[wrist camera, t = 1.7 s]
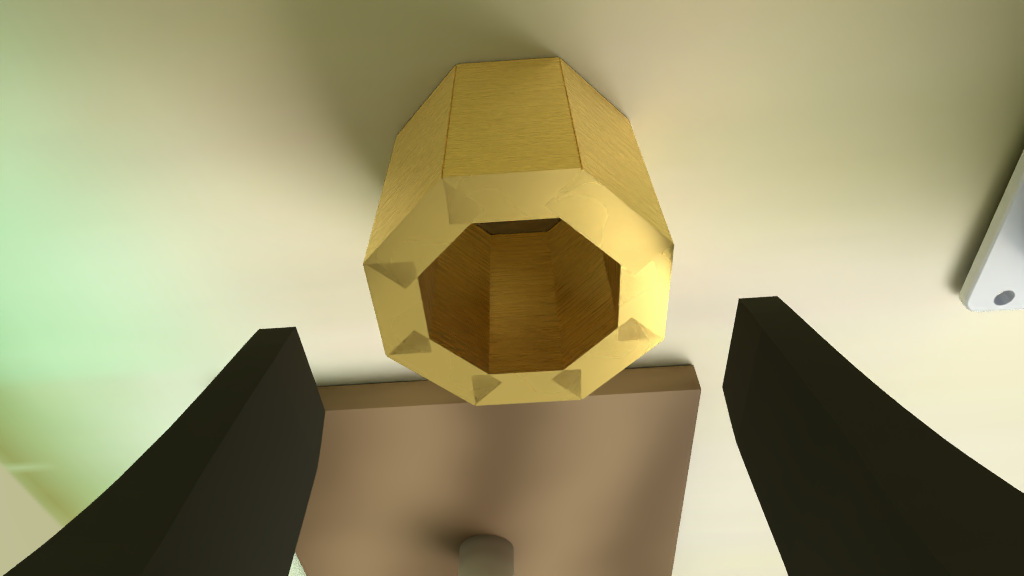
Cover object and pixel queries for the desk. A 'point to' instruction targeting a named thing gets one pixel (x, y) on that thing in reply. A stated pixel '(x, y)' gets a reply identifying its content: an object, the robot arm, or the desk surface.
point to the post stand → (501, 481)
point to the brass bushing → (518, 238)
